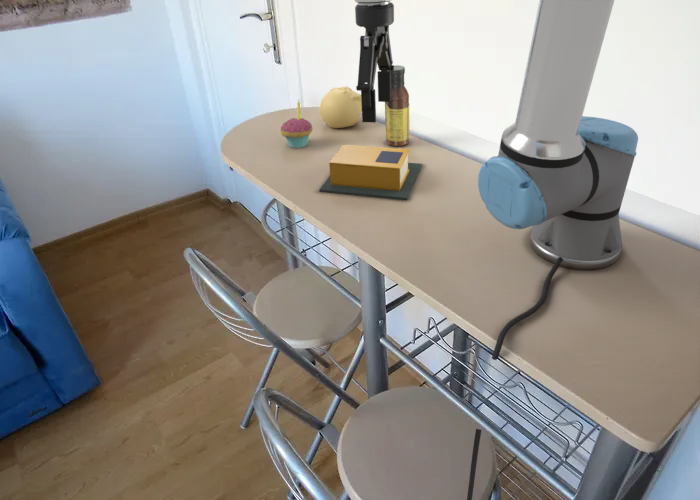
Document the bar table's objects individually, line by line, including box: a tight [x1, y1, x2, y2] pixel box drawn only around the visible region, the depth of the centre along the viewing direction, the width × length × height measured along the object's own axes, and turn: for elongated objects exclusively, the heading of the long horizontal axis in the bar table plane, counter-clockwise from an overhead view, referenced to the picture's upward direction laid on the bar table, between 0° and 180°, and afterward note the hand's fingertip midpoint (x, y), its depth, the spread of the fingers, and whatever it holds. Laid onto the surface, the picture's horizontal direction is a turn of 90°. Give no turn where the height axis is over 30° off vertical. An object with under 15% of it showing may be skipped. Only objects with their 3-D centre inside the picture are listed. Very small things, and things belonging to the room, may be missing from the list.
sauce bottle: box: [384, 64, 410, 147], centre depth 134 cm, size 7×6×20 cm
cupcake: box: [280, 99, 313, 149], centre depth 138 cm, size 9×8×12 cm
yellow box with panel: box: [328, 144, 410, 191], centre depth 119 cm, size 16×10×6 cm, turn 73°
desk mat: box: [318, 162, 423, 201], centre depth 122 cm, size 18×20×1 cm
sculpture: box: [319, 86, 362, 129], centre depth 150 cm, size 12×12×11 cm
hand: (377, 111), depth 112 cm, fingers open, 13 cm apart
